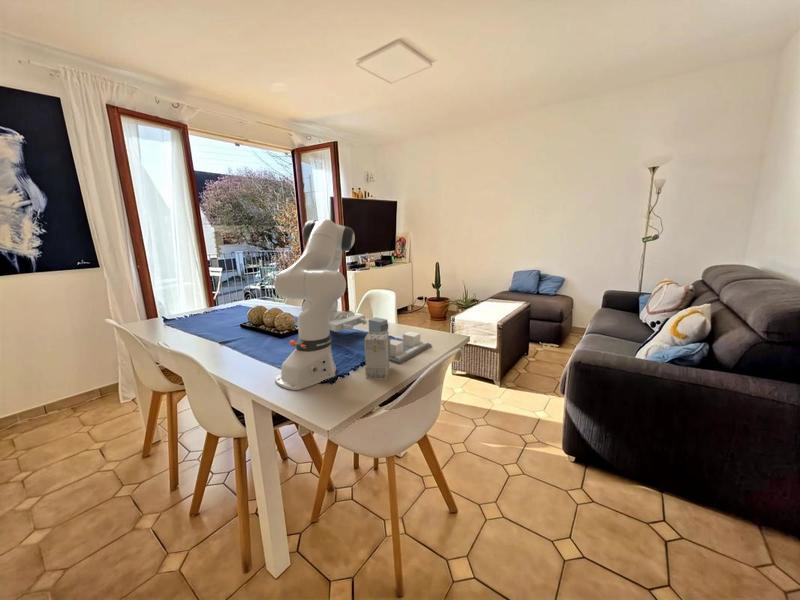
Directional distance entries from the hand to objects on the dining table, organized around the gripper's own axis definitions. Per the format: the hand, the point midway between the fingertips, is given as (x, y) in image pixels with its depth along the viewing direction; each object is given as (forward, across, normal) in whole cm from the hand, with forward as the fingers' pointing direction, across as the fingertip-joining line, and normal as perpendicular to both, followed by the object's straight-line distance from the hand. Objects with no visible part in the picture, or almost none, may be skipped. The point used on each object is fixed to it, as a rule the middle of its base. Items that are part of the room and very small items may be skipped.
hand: (359, 324), depth 157 cm
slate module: (+12, 0, +7) cm, 14 cm away
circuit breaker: (+30, -21, +8) cm, 37 cm away
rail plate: (+26, 0, +7) cm, 27 cm away
